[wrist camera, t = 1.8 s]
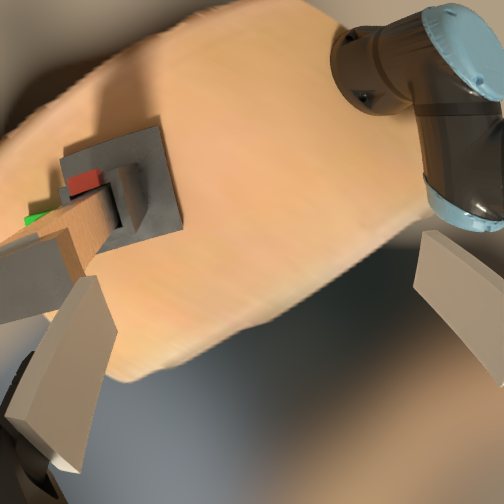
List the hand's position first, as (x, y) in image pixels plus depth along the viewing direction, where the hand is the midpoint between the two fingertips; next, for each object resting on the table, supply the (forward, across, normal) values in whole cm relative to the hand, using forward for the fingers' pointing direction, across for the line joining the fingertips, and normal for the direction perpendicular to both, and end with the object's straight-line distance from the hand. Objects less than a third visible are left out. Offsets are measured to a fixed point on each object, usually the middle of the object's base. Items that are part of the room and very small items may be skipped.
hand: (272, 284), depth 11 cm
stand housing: (+30, -15, -2) cm, 33 cm away
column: (+28, -15, -2) cm, 31 cm away
